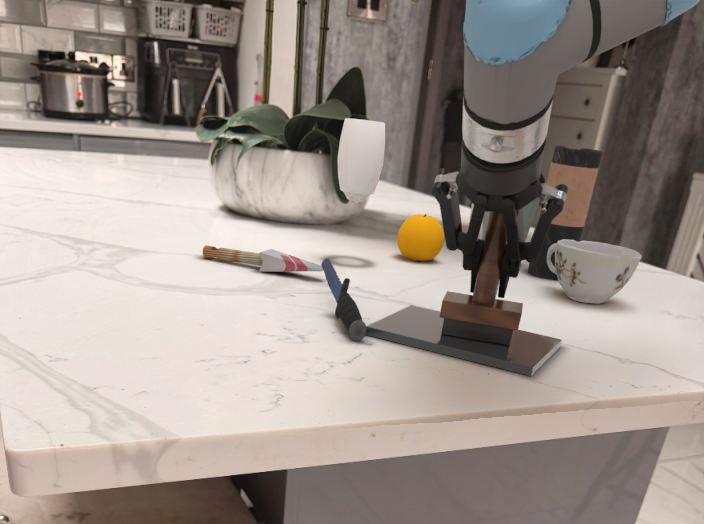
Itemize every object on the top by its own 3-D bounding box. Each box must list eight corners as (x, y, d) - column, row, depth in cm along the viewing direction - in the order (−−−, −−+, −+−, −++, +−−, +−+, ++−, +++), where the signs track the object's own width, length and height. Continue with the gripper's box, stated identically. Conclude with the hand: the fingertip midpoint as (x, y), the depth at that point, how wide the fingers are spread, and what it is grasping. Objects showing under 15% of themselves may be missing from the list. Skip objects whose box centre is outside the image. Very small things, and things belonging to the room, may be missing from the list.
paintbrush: (320, 261, 108) (198, 243, 115) (319, 280, 109) (199, 262, 116) (331, 257, 111) (212, 240, 118) (329, 276, 112) (212, 258, 119)
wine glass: (379, 263, 126) (397, 124, 116) (354, 268, 121) (371, 122, 111) (343, 254, 130) (358, 118, 119) (318, 259, 124) (331, 117, 114)
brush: (515, 336, 92) (543, 213, 85) (514, 347, 87) (543, 218, 80) (441, 324, 93) (463, 202, 86) (436, 334, 89) (458, 207, 82)
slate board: (560, 347, 93) (562, 339, 93) (530, 376, 82) (533, 367, 82) (409, 312, 101) (411, 305, 100) (364, 334, 90) (365, 326, 89)
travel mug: (555, 282, 128) (587, 151, 118) (517, 271, 132) (545, 144, 122) (578, 278, 132) (612, 152, 123) (541, 268, 137) (570, 146, 127)
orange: (420, 253, 138) (427, 209, 134) (449, 263, 132) (457, 218, 129) (385, 254, 134) (392, 209, 130) (413, 265, 128) (421, 217, 125)
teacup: (643, 307, 118) (660, 253, 114) (595, 313, 111) (611, 256, 107) (564, 283, 128) (577, 233, 124) (515, 287, 121) (527, 235, 117)
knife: (355, 308, 84) (343, 349, 87) (375, 311, 85) (362, 352, 88) (318, 238, 103) (309, 274, 106) (335, 242, 104) (326, 277, 107)
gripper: (409, 157, 70) (417, 301, 92) (584, 180, 66) (549, 324, 88) (430, 92, 72) (433, 248, 94) (601, 112, 68) (563, 269, 90)
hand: (489, 285), depth 91 cm, fingers closed on brush, 3 cm apart
